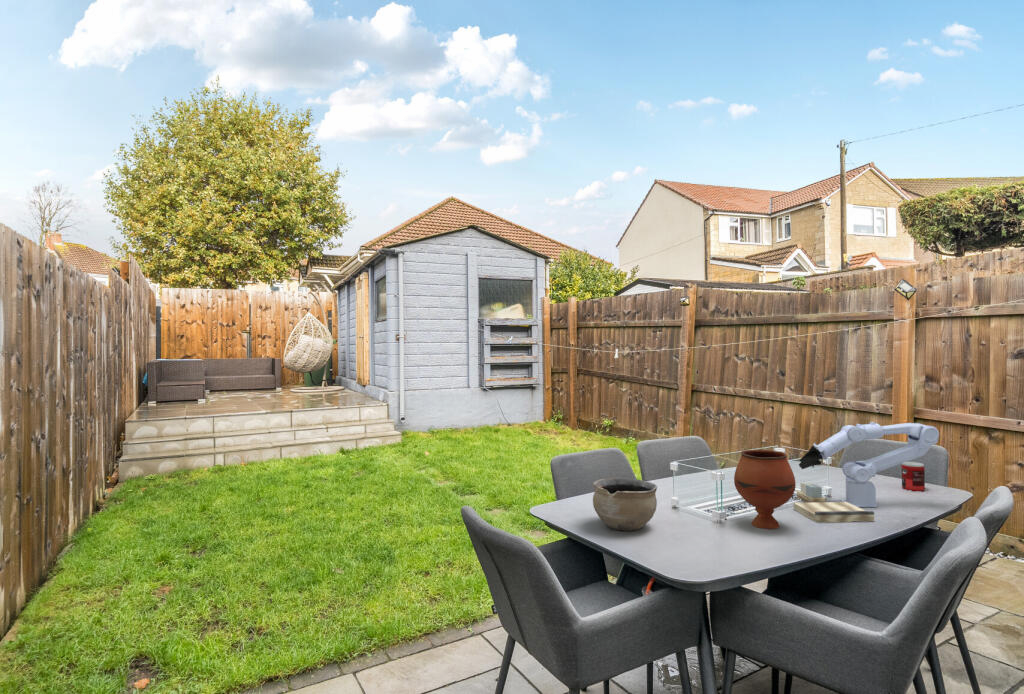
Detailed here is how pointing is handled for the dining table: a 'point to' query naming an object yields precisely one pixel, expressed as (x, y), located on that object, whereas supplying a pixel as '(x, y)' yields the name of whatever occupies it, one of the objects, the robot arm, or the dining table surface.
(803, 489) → the cream cube
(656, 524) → the dining table surface
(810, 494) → the pale grey cube
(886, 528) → the dining table surface
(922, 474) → the canned food
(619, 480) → the ceramic bowl
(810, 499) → the pallet
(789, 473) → the goblet
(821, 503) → the dock
